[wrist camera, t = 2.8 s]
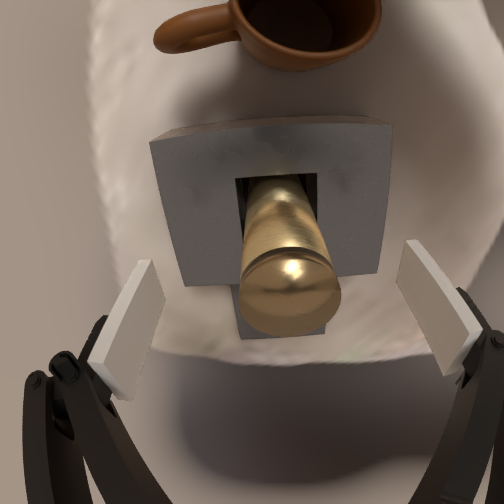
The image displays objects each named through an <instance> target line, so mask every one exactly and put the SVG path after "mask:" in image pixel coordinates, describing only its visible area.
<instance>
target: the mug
mask: <svg viewBox="0 0 504 504" xmlns="http://www.w3.org/2000/svg"><path fill="white" fill-rule="evenodd" d="M381 16H382V6H381V0H229V2H228V3H225V4H221V5H215V6H209V7H204V8H199V9H194V10H190V11H187V12H184V13H182V14H179V15H177V16H175V17H173V18H171V19H169V20H167V21H165V22H164V23H163V24H162V25H161V26H160V27H159V28H158V29H157V30H156V31H155V34H154V38H153V43H154V45H155V47H156V48H157V49H158V50H160V51H161V52H163V53H168V54H178V53H185V52H190V51H194V50H198V49H202V48H206V47H210V46H213V45H217V44H220V43H225V42H230V41H242V43H243V45H244V46H245V48H246V49H247V51H248V52H249V53H250V54H251V55H252V56H253V57H254V58H255V59H257V60H258V61H259V62H261V63H263V64H264V65H266V66H268V67H271V68H274V69H276V70H281V71H287V72H300V71H307V70H311V69H314V68H318V67H322V66H325V65H328V64H331V63H334V62H337V61H340V60H342V59H344V58H346V57H348V56H350V55H351V54H353V53H355V52H357V51H358V50H360V49H361V48H363V47H364V46H365V45H366V44H368V43H369V42H370V40H371V39H372V38H373V37H374V35H375V33H376V32H377V30H378V27H379V25H380V21H381Z"/></svg>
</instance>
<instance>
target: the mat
mask: <svg viewBox="0 0 504 504" xmlns="http://www.w3.org/2000/svg"><path fill="white" fill-rule="evenodd" d="M230 286H231V291H232V296H233V302H234V307H235V312H236V317H237V323H238V328H239V333H240V338H241V340H244V339H265V338H282V337H280V336H273V335H269V334H265V333H263V332H260V331H258V330H256V329H255V328H253V327H252V326H251V325H249V324H248V323H247V322H246V321H245V319H244V318H243V316H242V315H241V313H240V310H239V305H238V298H239V287H240V284H230ZM325 326H326V324H324V325H323V326H321V327H320V328H318V329H316V330H314V331H312V332H309V333H307V334H303V335H299V336H307V335H318V334H325ZM292 337H295V336H292Z"/></svg>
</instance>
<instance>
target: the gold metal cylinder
mask: <svg viewBox="0 0 504 504" xmlns="http://www.w3.org/2000/svg"><path fill="white" fill-rule="evenodd" d="M340 302H341V288H340V285H339V282H338V279H337V276H336V273H335V271H334V268H333V265H332V262H331V259H330V256H329V254H328V251H327V248H326V245H325V243H324V240H323V237H322V234H321V232H320V229H319V226H318V224H317V221H316V219H315V216H314V214H313V211H312V208H311V206H310V203H309V201H308V198H307V196H306V193H305V191H304V189H303V186H302V184H301V181H300V179H299V177H298V175H297V174H282V175H268V176H255V177H251V178H250V181H249V189H248V200H247V210H246V221H245V231H244V242H243V253H242V264H241V275H240V287H239V298H238V305H239V310H240V313H241V315H242V316H243V318H244V319H245V321H246V322H247V323H248V324H249V325H251V326H252V327H253V328H255V329H256V330H258V331H260V332H263V333H265V334H269V335H273V336H280V337H292V336H299V335H303V334H307V333H309V332H312V331H314V330H316V329H318V328H320V327H321V326H323V325H324V324H326V323H327V322H328V321H329V320H330V319H331V318H332V317H333V316H334V314H335V313H336V311H337V310H338V308H339V305H340Z"/></svg>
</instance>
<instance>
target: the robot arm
mask: <svg viewBox="0 0 504 504" xmlns="http://www.w3.org/2000/svg"><path fill="white" fill-rule="evenodd" d="M396 283H397V285H398V286H399V288H400V290H401V292H402V294H403V295H404V297H405V299H406V301H407V303H408V304H409V306H410V308H411V310H412V312H413V314H414V316H415V318H416V320H417V321H418V323H419V325H420V327H421V329H422V331H423V333H424V335H425V337H426V339H427V341H428V344H429V346H430V348H431V350H432V352H433V354H434V356H435V358H436V361H437V363H438V365H439V367H440V370H441V371H442V374H443V376H446V375H449V374H452V373H455V372H457V370H458V369H459V367H460V366H461V365H462V364H463V366H464V368H465V370H464V371H463V372H462V374H461V375H460V377H459V378H458V379H457V381H456V383H455V384H458V382H459V381H460V383H459V387H458V390H457V393H456V397H455V400H454V403H453V406H452V409H451V412H450V415H449V418H448V421H447V423H446V426H445V429H444V431H443V434H442V436H441V439H440V441H439V444H438V446H437V448H436V451H435V453H434V455H433V457H432V460H431V462H430V464H429V466H428V468H427V470H426V472H425V474H424V476H423V478H422V480H421V482H420V484H419V485H418V487H417V489H416V491H415V493H414V495H413V496H412V498H411V500H410V502H409V503H408V504H473V500H474V498H475V495H476V493H477V491H478V488H479V486H480V483H481V481H482V478H483V475H484V472H485V470H486V467H487V464H488V461H489V458H490V455H491V451H492V448H493V444H494V450H493V459H492V466H491V474H490V480H489V486H488V491H487V495H486V500H485V504H504V334H503V333H502V332H500V331H498V330H492V329H491V327H490V326H489V325H488V323H487V321H486V320H485V318H484V317H483V315H482V314H481V312H480V311H479V309H477V306H476V305H475V304H474V303H473V301H472V299H471V298H470V297H469V295H468V294H467V293H466V292H465V291H464V290H462V289H461V288H460V287H458V288H455V287H454V286H453V284H452V283H451V281H450V280H449V279H448V277H447V276H446V275H445V273H444V272H443V271H442V270H441V268H440V267H439V266H438V264H437V263H436V262H435V261H434V259H433V258H432V257H431V256H430V254H429V253H428V252H427V251H426V249H425V248H424V247H423V246H422V245H421V243H420V242H419V241H418V240H417V239H415V240H405V244H404V249H403V254H402V259H401V263H400V268H399V272H398V276H397V280H396ZM165 300H166V299H165V296H164V293H163V291H162V288H161V285H160V282H159V279H158V276H157V273H156V271H155V268H154V265H153V261H152V259H148V260H139V261H138V262H137V264H136V266H135V268H134V270H133V271H132V273H131V275H130V277H129V278H128V280H127V282H126V284H125V286H124V288H123V289H122V291H121V293H120V295H119V297H118V299H117V301H116V303H115V305H114V306H113V309H112V311H111V312H110V314H109V315H103V316H102V317H101V318H100V319H99V320H98V321H97V322H96V323H95V325H94V327H93V329H92V331H91V332H92V333H90V335H89V337H88V340H87V341H86V343H85V345H84V347H83V349H82V352H81V353H80V356H79V358H78V360H77V359H76V358H75V356H74V355H73V354H72V353H71V352H69V351H62V352H59V353H57V354H56V355H55V356H54V357H53V358H52V359H51V361H50V363H49V371H50V372H51V373H52V375H53V377H48V376H47V375H46V374H45V373H44V372H43V371H40V370H37V371H35V372H32V373H31V374H30V375H29V376H28V378H27V379H26V382H25V389H24V401H23V425H22V426H23V428H22V429H23V430H22V431H23V432H22V434H23V435H22V436H23V438H22V441H23V464H24V476H25V485H26V492H27V500H28V504H93V501H92V497H91V493H90V489H89V485H88V480H87V476H86V471H85V466H84V460H83V456H84V459H85V461H86V464H87V465H88V468H89V470H90V472H91V475H92V477H93V479H94V481H95V483H96V485H97V487H98V489H99V491H100V493H101V495H102V497H103V499H104V501H105V503H106V504H173V503H172V502H171V501H170V499H169V498H168V497H167V495H166V494H165V492H164V491H163V490H162V488H161V487H160V485H159V484H158V482H157V481H156V479H155V478H154V476H153V475H152V473H151V471H150V470H149V468H148V467H147V465H146V464H145V462H144V461H143V459H142V457H141V455H140V454H139V452H138V450H137V449H136V447H135V445H134V443H133V441H132V440H131V438H130V436H129V434H128V432H127V430H126V428H125V426H124V425H123V423H122V421H121V419H120V417H119V415H118V413H117V410H116V408H115V406H114V404H113V402H112V401H111V400H110V397H111V394H112V393H113V394H114V395H115V396H116V398H117V399H119V400H126V401H133V400H134V396H135V393H136V389H137V385H138V382H139V379H140V376H141V372H142V369H143V366H144V363H145V360H146V357H147V353H148V350H149V347H150V344H151V341H152V338H153V335H154V332H155V329H156V326H157V323H158V320H159V317H160V314H161V312H162V309H163V306H164V303H165Z"/></svg>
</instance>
